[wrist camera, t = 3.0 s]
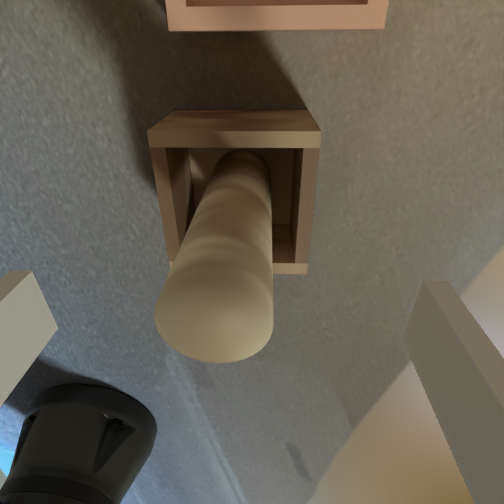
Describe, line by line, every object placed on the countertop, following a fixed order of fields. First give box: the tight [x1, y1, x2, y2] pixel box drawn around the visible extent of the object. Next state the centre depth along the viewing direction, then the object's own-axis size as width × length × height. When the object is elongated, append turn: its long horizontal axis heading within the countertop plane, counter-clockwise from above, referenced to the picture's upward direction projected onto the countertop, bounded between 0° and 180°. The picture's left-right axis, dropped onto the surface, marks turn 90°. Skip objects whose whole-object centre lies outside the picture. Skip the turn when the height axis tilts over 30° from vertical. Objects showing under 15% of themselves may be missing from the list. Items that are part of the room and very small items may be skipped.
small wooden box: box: [147, 110, 321, 274], centre depth 21 cm, size 9×9×6 cm
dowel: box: [154, 149, 273, 363], centre depth 17 cm, size 4×4×14 cm
